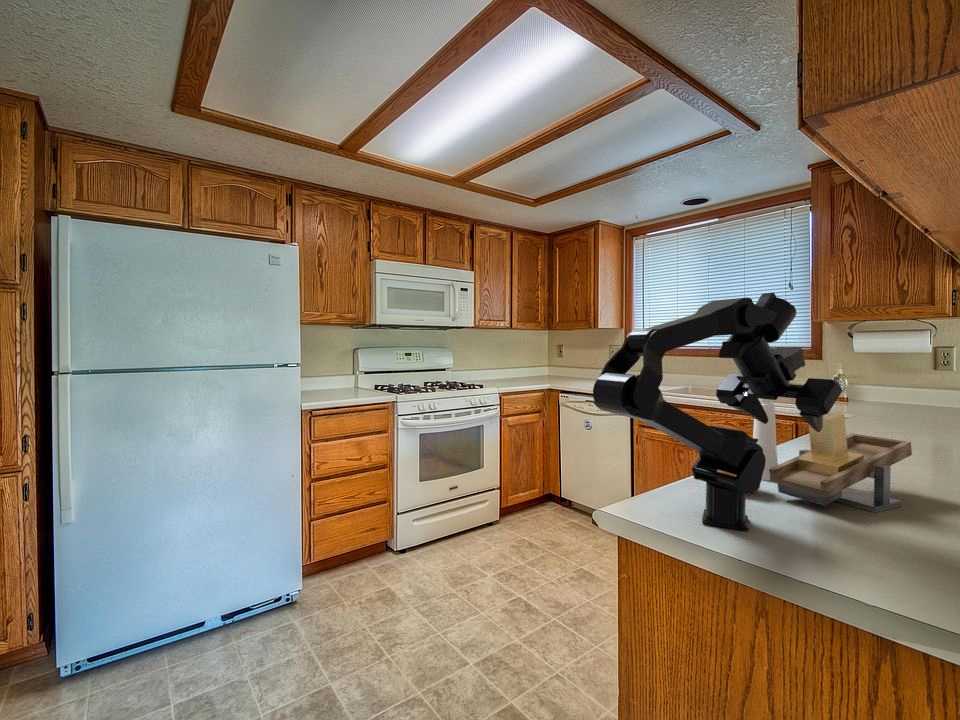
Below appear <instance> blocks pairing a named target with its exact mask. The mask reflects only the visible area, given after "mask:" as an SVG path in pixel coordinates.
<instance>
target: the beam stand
mask: <svg viewBox="0 0 960 720" xmlns="http://www.w3.org/2000/svg"><path fill="white" fill-rule="evenodd" d="M809 451H811V449H810V450H809V449H799V451H798V453H799V454H798V456H800V455H802V454H804V453H807V452H809ZM891 467H892V465H891V466H888V465H883V464H879V465H875V473H874V478H873V480H874V482H873V487H874V489H873V493H871V492H868V491H864V490H859V489H855V488H851V487H847V488H845V489H843V490H842V497H840V498H838V499H836V500H835V501H834V502H836V503H839V504H842V505H845V504H847V505H846V506H849V505H850V506H849V507H852V506H854V507H853V508H856V507H857V509H860V508H861V509H860V510H863V509H864V511H866V512H870V511H871V513H873V514H874V513H876V512H877V513H881V512H883V511H888V510H892V509H896V508H901V507H902V500H900V499H896V498H892V497H891V471H892V470H891V469H892V468H891ZM877 513H876V514H877Z"/></svg>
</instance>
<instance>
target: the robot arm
mask: <svg viewBox="0 0 960 720" xmlns="http://www.w3.org/2000/svg"><path fill="white" fill-rule="evenodd" d="M796 317H797V309H796V307H795V306H794V304H792V303H791V302H789V301H788V300H786V299H783V298H780V297H778V296H776V293H775V292H767V293H762V294H761V295H760V297H758V300H757V301H756V303H754V301H753V298H751V297H737V298H729V299H728V298H726V299H718V300H711V301H709V302H707V303H706V304H703V305H702V306H700V307H699V308H698V309H697V311H696V312H695V313H693V314H690V315H687V316H683V317H681V318H677V319H673V320H670V321H666V322H663V323H660V324H657V325H654V326H649V327H646V328H644V329H634V330H633V331H630V332H628V334H627V336H625V339H624V341H623V343H622V345H621V347H619V349H618V350H617V351H616V352H615V353H614V354H613V355H612V357H610V358H609V360H607V362H606V363H605V364H604V367H603V368H602V370H601V373H600V375H599V376H598V378H597V379H596V380H595V382H594V383H593V385H594V386H593V388H592V396H593V397H592V398H593V404H594V405H595V406H596V408H598V410H601V411H603V412H607V413H611V414H615V415H617V416H618V415H619V416H623V417H626V418H630V419H635V420H639V421H641V422H643V423H644V424H647V425H649V426H650V427H653V428H654V429H656V430H658V431H659V432H661V433H663V434H665V435H667V436H669V437H670V438H672V439H675V440H676V441H678V442H680V443H682V444H683V445H685V446H687V447H689V448H690V449H693V450H695V451H696V452H697V453H698V456H699V457H698V458H697V460H696V461H695V462H694V463H693V465H692V467H691V472H692V475H693V479H695V480H696V481H702V482H705V508H704V509H703V512H702V513H703V514H702V521H701V523H702V524H703V525H709V526H715V527H720V528H727V529H733V530H738V531H739V530H741V531H746V532H747V531H749V529H750V528H749V517H748V514H746V498H747V497H746V495H747V494H746V492H748V491H752V490H757V489H758V490H759V489H760V488H761V487H760V486H761V482H762V480H761V479H762V475H763V471H764V467H765V462H766V459H765V455H764V453H763V449H762V447H761V446H760V445H759V444H757V441H758V439H756V438H753V437H751V436H750V435H749V434H748V433H747V432H745V431H743V430H741V429H735V428H730V427H723V426H718V425H712V424H709V425H707V424H706V423H704V422H702V421H701V420H699V419H697V418H696V417H694V416H692V415H691V414H688V413H687V412H685V411H683V410H681V409H680V408H679V407H676V406H675V405H673V404H671V403H670V402H668V401H667V400H665V399H664V396H663V393H662V390H661V389H660V386H661V384H662V381H663V379H664V378H663V377H664V374H663V358H664V356H665V354H666V353H667V352H670V351H673V350H677V349H679V348H682V347H685V346H688V345H691V344H695V343H696V342H697V343H698V342H700V341H703V340H705V339H709V338H712V337H717V336H718V337H720V336H729V337H728V339H727V340H726V341H722V343H721V348H720V349H719V352H718V358H720V359H732V360H733V362H734V364H735V365H736V367H737V369H738V373H728V374H727V376H726V377H725V378H724V379H723V381H722V382H720V384H719V386H718V388H716V390H715V396H716V397H717V399H718V401H719V402H720V404H725V405H727V406H728V407H731V408H733V409H735V410H737V411H740V412H742V413H743V414H744V415H746V416H747V415H748V416H749V417H751V418H753V419H754V418H755V419H756V420H758V421H760V422H762V423H764V424H767V422H768V417H767V414H766V412H765V410H764V408H763V407H762V405H761V403H760V401H759V399H758V398H760V399H769V400H772V401H777V399H778V398H787V399H795V403H794V405H795V407H796V408H797V410H798V411H800V412H799V413H798V415H799V416H800V417H801V418H802V419H803V420H804V421H805V422H806V423H807V424H808V426H809V425H810V426H811V427H812V428H813V429H814V430H816V431H817V432H820V431H821V430H822V426H823V415H825V414H828V413H829V412H831V409H832V408H833V406H834V405H835V404H836V402H837V401H838V399H839V397H840V395H841V394H842V393H843V389H842V387H841V385H840V383H839V381H837V379H831V378H830V379H827V378H812V377H811V378H810V377H809V378H807V380H806V381H805V383H804V384H792V383H790V381H794V380H795V378H796V377H797V374H796V371H798V370H799V369H800V368H804V367H806V360H805V357H804V351H803V348H802V347H797V346H796V347H791V346H789V347H781V346H780V347H772V348H771V346H770V344H771V343H775V342H777V341H779V339H780V338H781V337H782V336H783V334H784V333H785V332H786V330H787V328H789V326H790V325H791V323H792V322H793V321H794V319H795V318H796ZM769 343H770V344H769ZM641 357H642V360H643V365H642V369H641V370H640V373H639V374H631V373H628V372H629V371H630V370H631V368H632V367H634V365H636V364H637V362H639V360H640V359H641ZM717 470H721V471H724V472H728V473H731V474H735V475H737V476H736V477H734V476H731V475H727V474H723V473H720V472H717Z"/></svg>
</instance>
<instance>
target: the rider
mask: <svg viewBox="0 0 960 720" xmlns="http://www.w3.org/2000/svg"><path fill="white" fill-rule="evenodd" d="M808 432H809V442H810V450H811V453H809V454H807V455H804V456H802V457H800V458H798V459H797V462H798V469H802V470H806V471H810V472H815V473H819V474H823V475H828V476H833V475H835V474H837V473H839V472H841V471H843V470H845V469H847V468H849V467H852V466H854V465H856V464H858V463H860V462H862V461H864V455H862V454H857V453H851V452H848V448H847V438H846V435H847V430H846V419H845V413H837V412H831V411H829V413H828V414H825V415H823V426H822V430H821V431H820V432H817V431H816V430H814V429H813V428H812V427H811V426H810V425H809V424H808Z"/></svg>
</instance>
